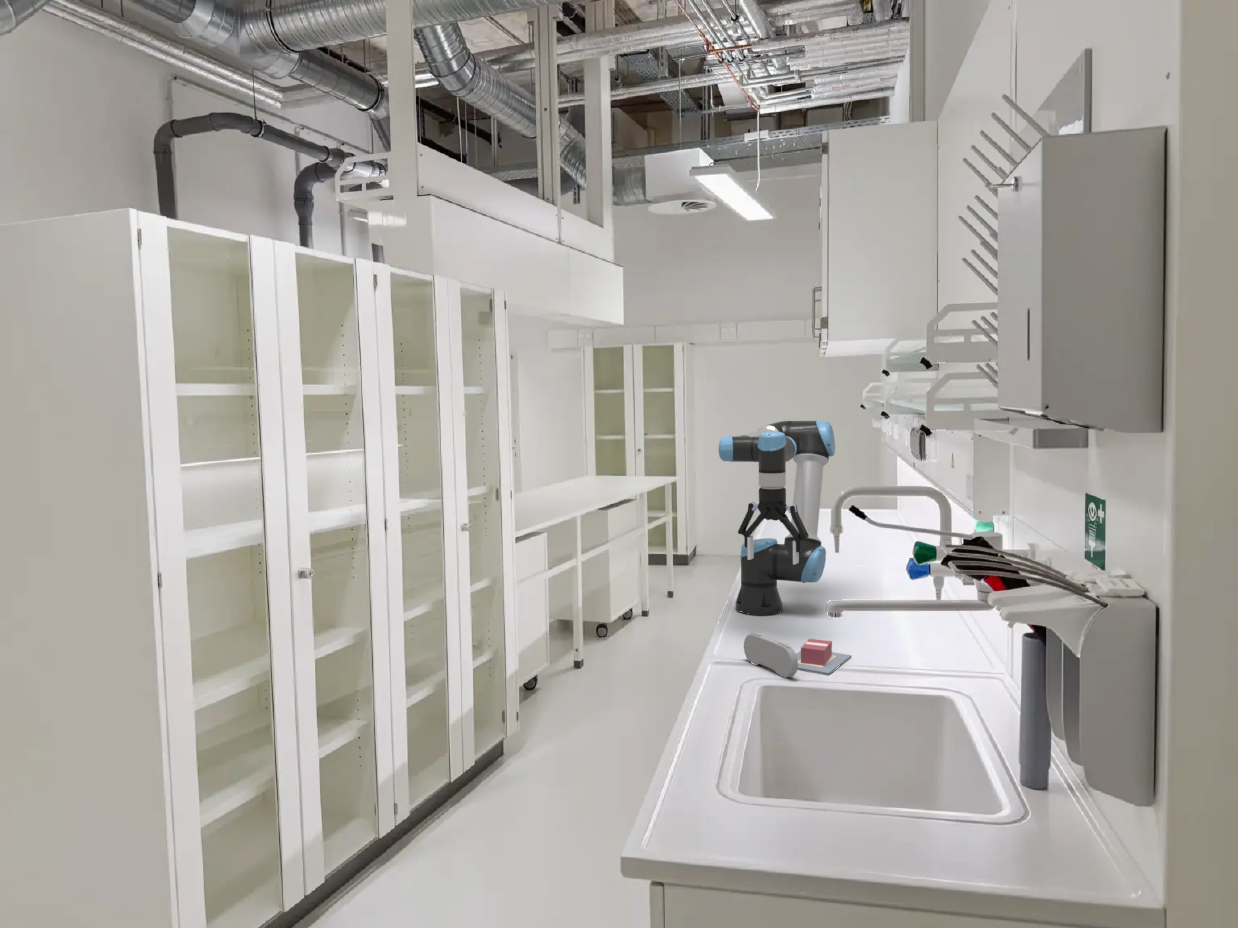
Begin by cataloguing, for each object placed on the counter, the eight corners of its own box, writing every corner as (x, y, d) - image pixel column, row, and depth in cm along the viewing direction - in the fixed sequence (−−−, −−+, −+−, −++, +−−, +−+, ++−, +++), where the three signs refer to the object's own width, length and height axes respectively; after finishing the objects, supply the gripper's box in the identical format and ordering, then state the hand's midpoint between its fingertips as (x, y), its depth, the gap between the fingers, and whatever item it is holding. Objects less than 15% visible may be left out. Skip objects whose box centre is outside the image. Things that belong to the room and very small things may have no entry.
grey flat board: (804, 649, 228) (804, 647, 228) (851, 657, 221) (851, 654, 221) (780, 666, 214) (780, 664, 214) (828, 675, 207) (828, 672, 207)
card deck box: (800, 662, 215) (800, 647, 214) (809, 653, 223) (809, 638, 222) (824, 665, 212) (824, 650, 212) (831, 656, 220) (831, 640, 220)
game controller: (799, 680, 204) (799, 647, 203) (791, 681, 203) (791, 648, 202) (750, 659, 221) (750, 628, 220) (743, 660, 220) (743, 629, 219)
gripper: (819, 487, 230) (819, 562, 232) (736, 483, 243) (737, 554, 246) (810, 491, 224) (811, 568, 226) (726, 486, 237) (727, 559, 239)
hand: (772, 561), depth 236 cm, fingers open, 13 cm apart
